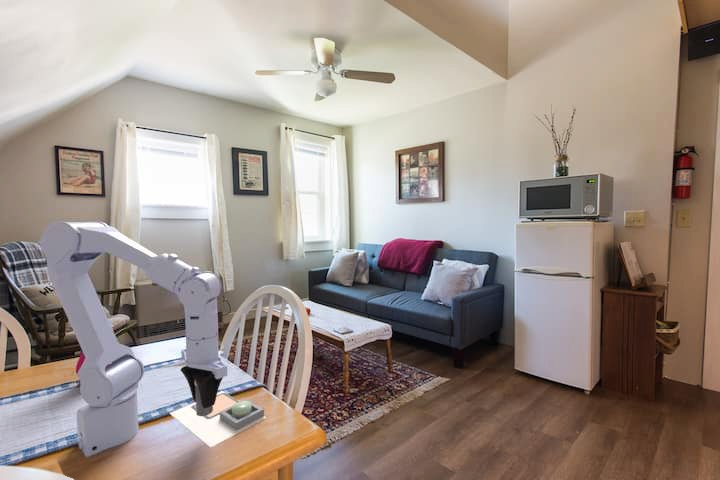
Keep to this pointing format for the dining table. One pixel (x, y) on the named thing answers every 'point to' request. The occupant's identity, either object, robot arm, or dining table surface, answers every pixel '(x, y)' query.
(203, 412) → the marker
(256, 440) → the dining table surface
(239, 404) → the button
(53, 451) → the dining table surface
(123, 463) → the dining table surface
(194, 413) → the board
